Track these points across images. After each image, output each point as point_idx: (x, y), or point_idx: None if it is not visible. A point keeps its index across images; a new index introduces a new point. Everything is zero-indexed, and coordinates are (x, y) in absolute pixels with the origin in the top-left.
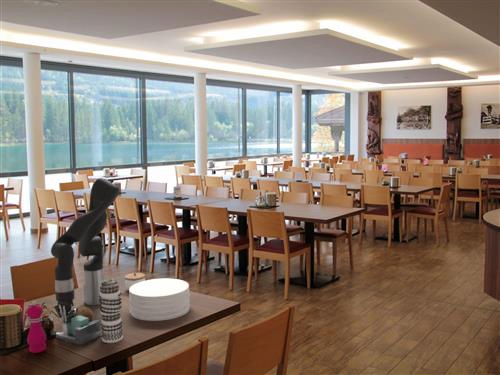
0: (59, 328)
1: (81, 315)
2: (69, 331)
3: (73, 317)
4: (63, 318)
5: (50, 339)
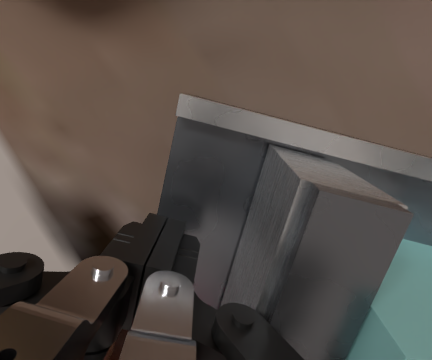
0: (10, 126)
1: (358, 201)
2: None
3: (270, 338)
4: (100, 354)
5: (123, 332)
